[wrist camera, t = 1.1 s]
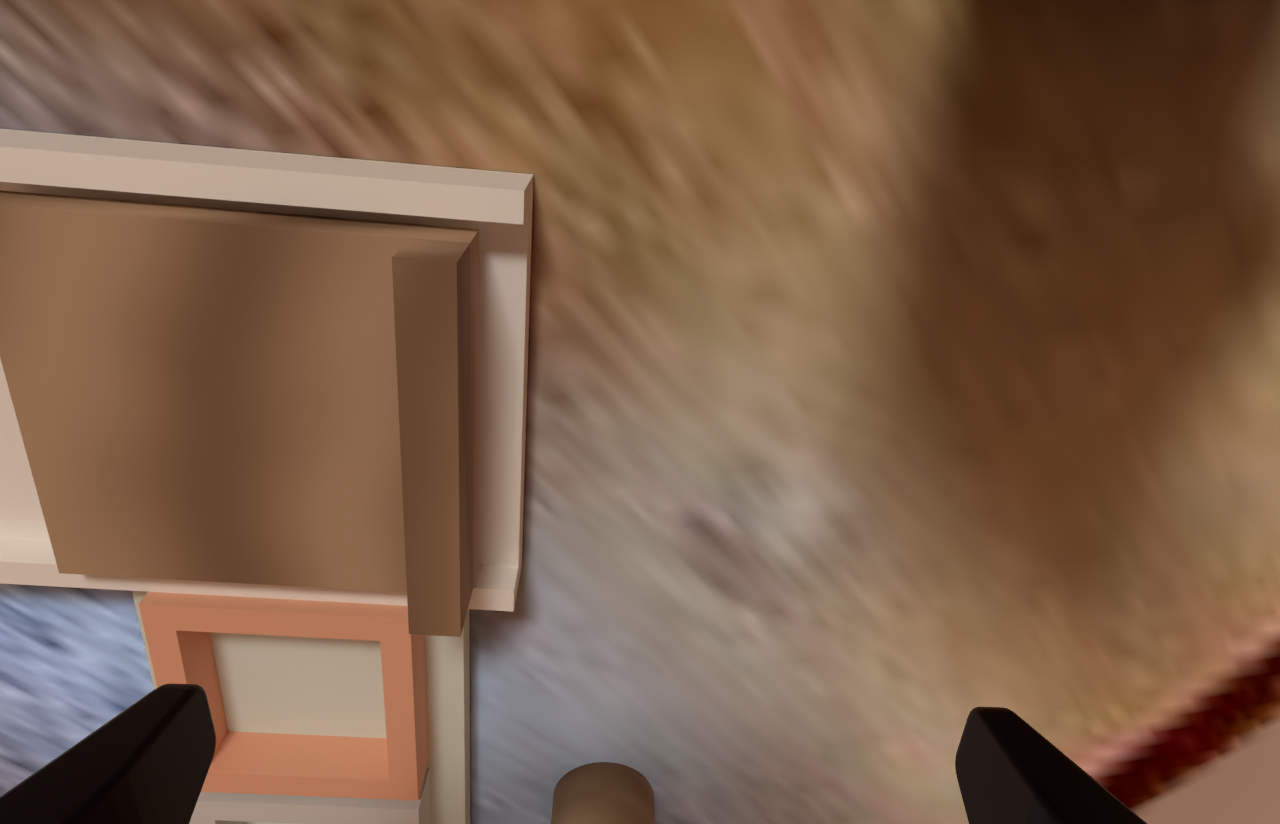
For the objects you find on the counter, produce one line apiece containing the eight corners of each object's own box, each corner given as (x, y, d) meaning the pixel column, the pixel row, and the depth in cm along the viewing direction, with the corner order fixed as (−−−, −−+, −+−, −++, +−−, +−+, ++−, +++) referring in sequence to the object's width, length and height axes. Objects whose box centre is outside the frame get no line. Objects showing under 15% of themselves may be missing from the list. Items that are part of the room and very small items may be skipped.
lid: (479, 229, 18) (456, 262, 15) (478, 567, 21) (460, 636, 19) (-1, 190, 17) (-104, 218, 15) (88, 544, 21) (18, 613, 18)
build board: (469, 562, 23) (452, 620, 21) (470, 879, 29) (458, 951, 27) (145, 543, 23) (93, 601, 20) (215, 870, 29) (180, 942, 26)
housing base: (533, 174, 19) (524, 190, 17) (521, 565, 23) (513, 611, 22) (-204, 111, 18) (-297, 121, 16) (-60, 532, 22) (-120, 577, 21)
